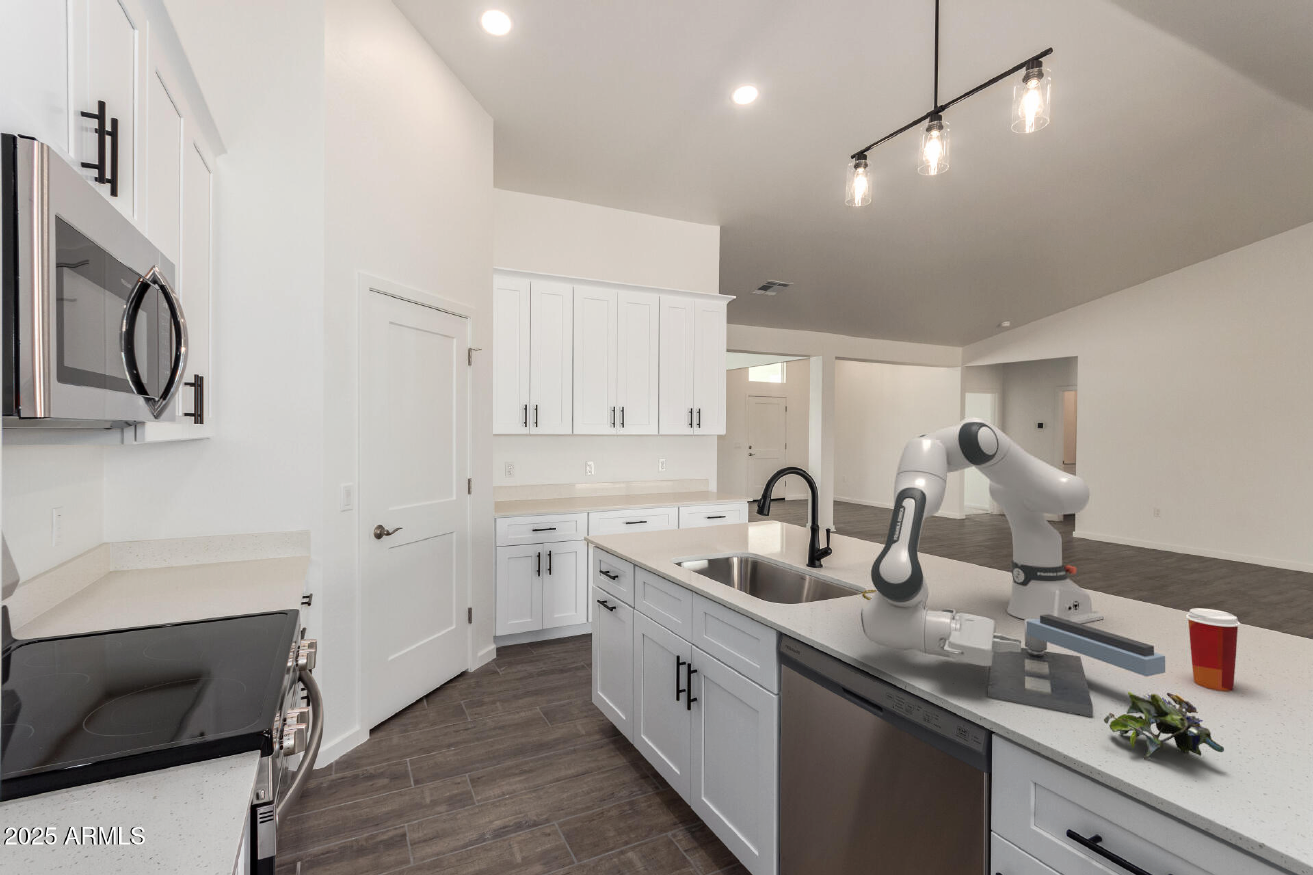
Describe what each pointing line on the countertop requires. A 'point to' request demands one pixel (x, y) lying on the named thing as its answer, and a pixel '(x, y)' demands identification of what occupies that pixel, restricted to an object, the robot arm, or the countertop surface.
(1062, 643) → the bar
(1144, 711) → the passion flower
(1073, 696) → the dark grey base plate
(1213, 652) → the paper cup
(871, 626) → the robot arm
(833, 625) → the countertop surface
